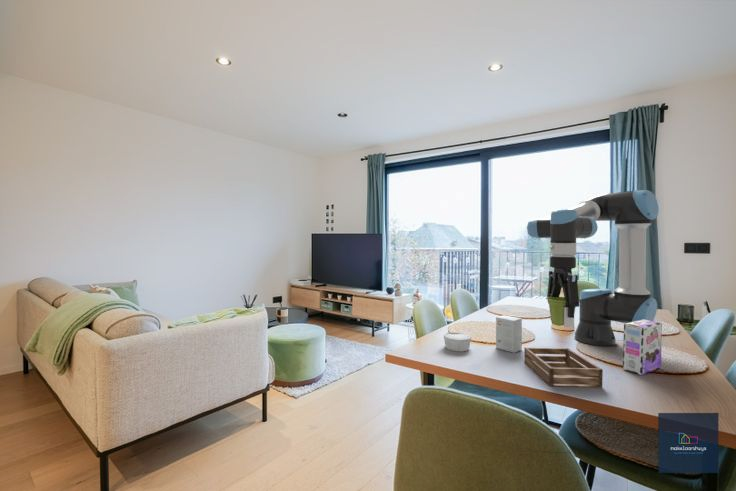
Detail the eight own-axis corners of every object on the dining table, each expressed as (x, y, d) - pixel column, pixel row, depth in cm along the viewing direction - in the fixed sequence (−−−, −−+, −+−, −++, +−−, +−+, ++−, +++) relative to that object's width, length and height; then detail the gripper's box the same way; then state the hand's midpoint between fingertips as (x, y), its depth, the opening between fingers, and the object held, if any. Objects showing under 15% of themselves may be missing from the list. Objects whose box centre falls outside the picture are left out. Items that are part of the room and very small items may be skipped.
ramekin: (461, 342, 147) (461, 330, 147) (476, 351, 137) (477, 338, 136) (438, 345, 144) (438, 333, 143) (453, 354, 133) (453, 341, 133)
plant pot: (539, 322, 115) (539, 297, 115) (558, 319, 119) (558, 295, 119) (565, 329, 107) (565, 302, 106) (584, 326, 110) (585, 300, 110)
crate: (567, 363, 123) (568, 348, 123) (602, 387, 103) (602, 369, 103) (524, 362, 124) (524, 347, 124) (550, 386, 104) (550, 368, 104)
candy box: (641, 375, 112) (642, 326, 112) (621, 369, 117) (622, 322, 117) (661, 368, 118) (663, 322, 118) (642, 362, 124) (643, 318, 123)
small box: (522, 349, 138) (522, 318, 137) (514, 353, 134) (514, 320, 133) (503, 344, 144) (503, 314, 144) (495, 348, 140) (495, 316, 140)
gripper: (537, 254, 123) (536, 316, 124) (568, 257, 102) (567, 332, 103) (558, 254, 123) (557, 316, 123) (594, 258, 102) (592, 332, 102)
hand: (561, 323), depth 113 cm, fingers closed on plant pot, 8 cm apart
